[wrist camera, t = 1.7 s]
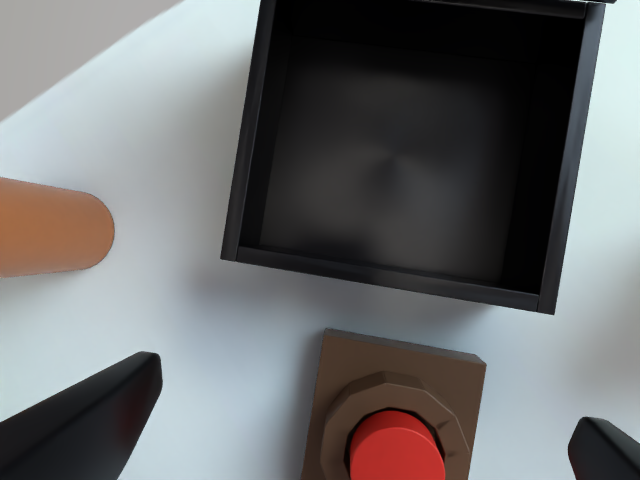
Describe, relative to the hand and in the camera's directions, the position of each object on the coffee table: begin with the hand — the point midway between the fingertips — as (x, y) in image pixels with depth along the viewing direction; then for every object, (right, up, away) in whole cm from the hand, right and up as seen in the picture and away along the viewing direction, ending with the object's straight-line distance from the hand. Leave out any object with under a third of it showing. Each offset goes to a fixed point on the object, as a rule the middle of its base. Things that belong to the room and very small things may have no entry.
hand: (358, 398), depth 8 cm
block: (+3, -8, +14) cm, 16 cm away
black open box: (+3, +8, +14) cm, 17 cm away
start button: (+3, -7, +11) cm, 14 cm away
